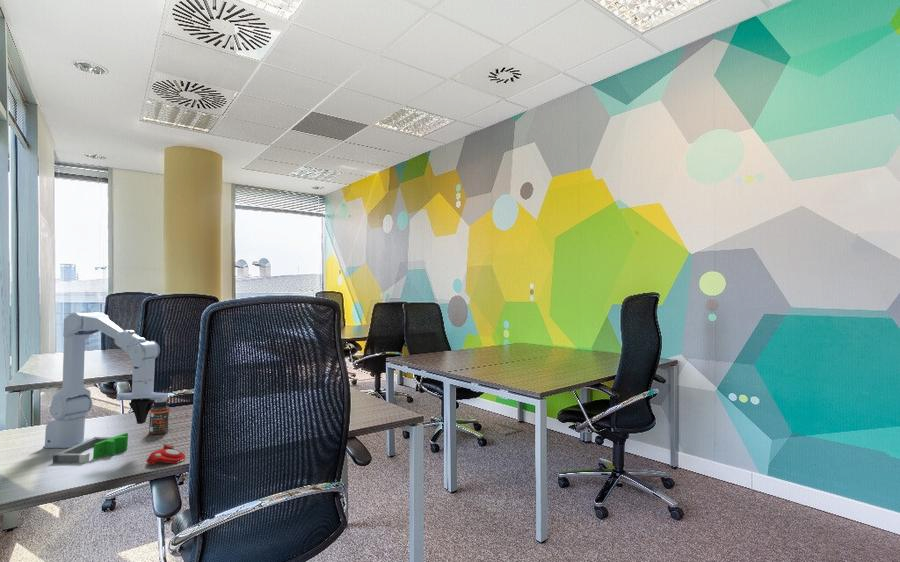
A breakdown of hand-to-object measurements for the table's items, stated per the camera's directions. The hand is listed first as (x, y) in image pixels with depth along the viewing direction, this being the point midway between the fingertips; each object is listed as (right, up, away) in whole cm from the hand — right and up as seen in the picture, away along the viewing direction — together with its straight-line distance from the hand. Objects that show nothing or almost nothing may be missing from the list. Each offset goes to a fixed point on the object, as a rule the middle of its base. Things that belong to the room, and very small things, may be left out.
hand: (141, 423), depth 140 cm
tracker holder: (+12, -10, -5) cm, 16 cm away
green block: (-8, -9, -1) cm, 12 cm away
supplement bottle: (-8, -10, +20) cm, 24 cm away
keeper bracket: (-15, -9, -1) cm, 17 cm away
